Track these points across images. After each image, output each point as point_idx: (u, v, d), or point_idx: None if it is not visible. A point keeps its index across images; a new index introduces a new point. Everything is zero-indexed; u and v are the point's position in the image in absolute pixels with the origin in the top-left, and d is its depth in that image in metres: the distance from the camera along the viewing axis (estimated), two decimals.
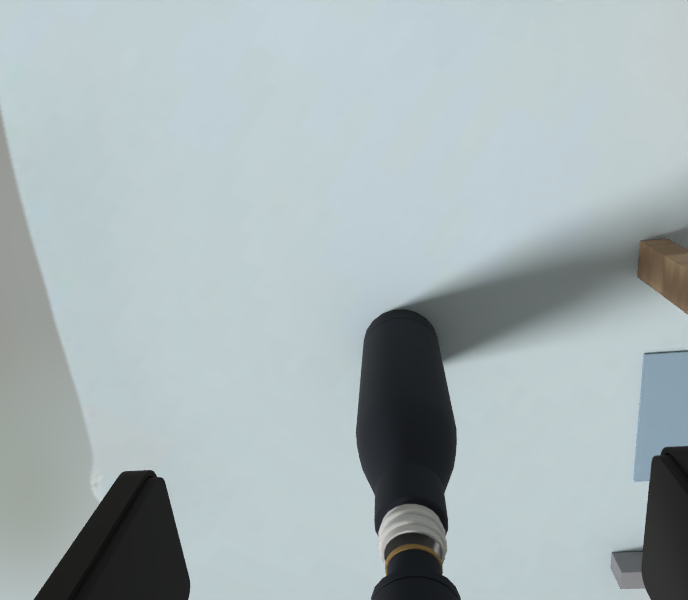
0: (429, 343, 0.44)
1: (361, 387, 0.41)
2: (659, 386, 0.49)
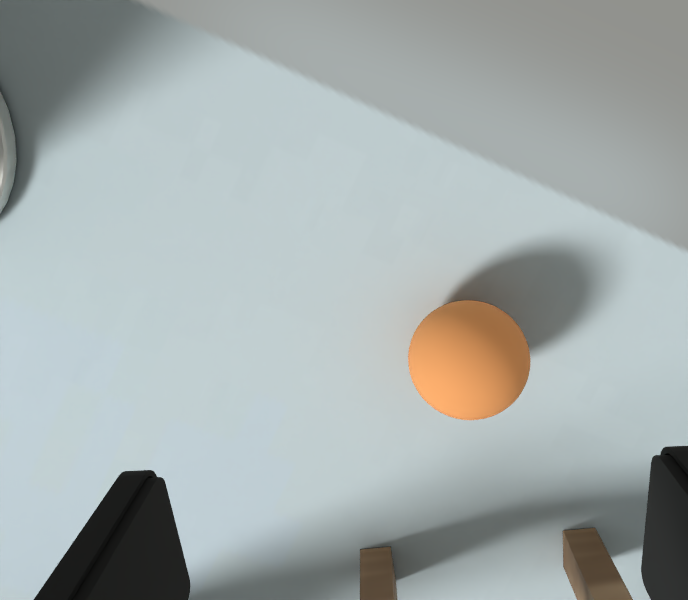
0: None
1: None
2: None
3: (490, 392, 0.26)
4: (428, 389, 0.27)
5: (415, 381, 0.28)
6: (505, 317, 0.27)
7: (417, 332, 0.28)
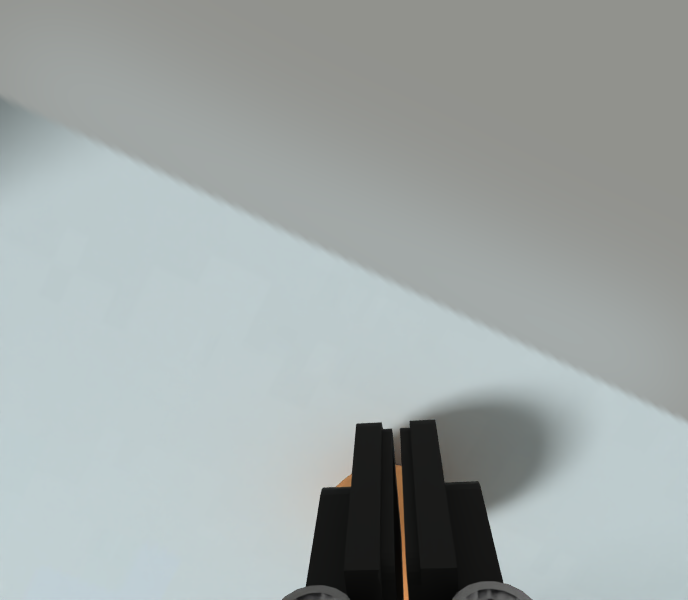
0: None
1: None
2: None
3: None
4: None
5: None
6: None
7: None
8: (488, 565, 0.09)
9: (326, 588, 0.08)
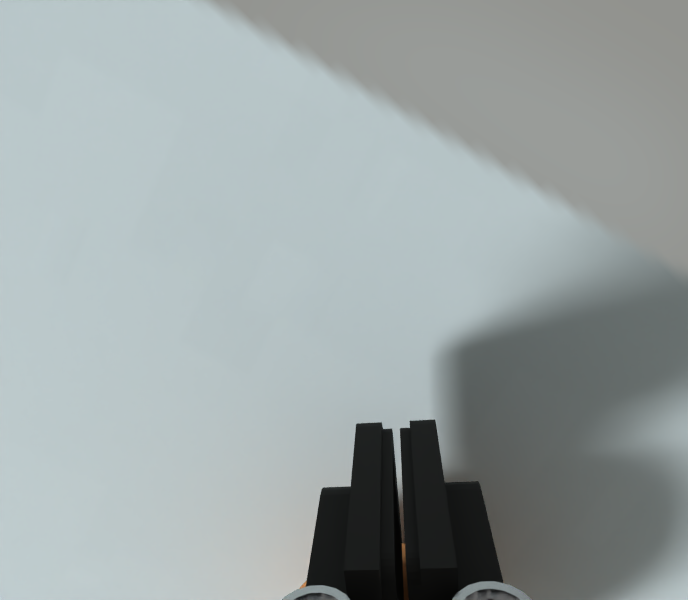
0: None
1: None
2: None
3: None
4: None
5: None
6: None
7: None
8: (487, 565, 0.09)
9: (326, 588, 0.08)
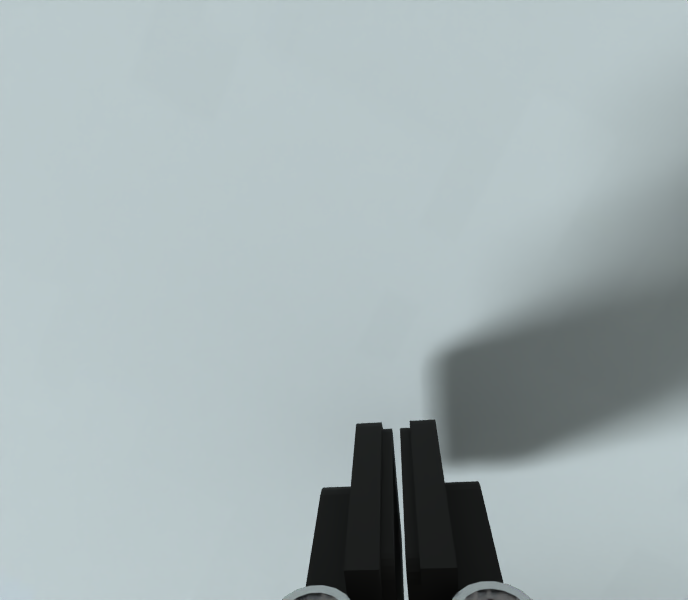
0: None
1: None
2: None
3: None
4: None
5: None
6: None
7: None
8: (488, 565, 0.09)
9: (326, 588, 0.08)
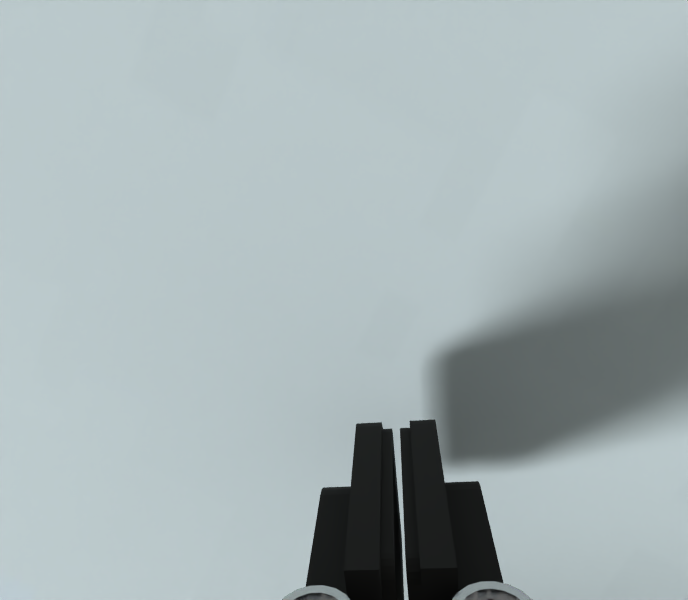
0: None
1: None
2: None
3: None
4: None
5: None
6: None
7: None
8: (488, 565, 0.09)
9: (326, 588, 0.08)
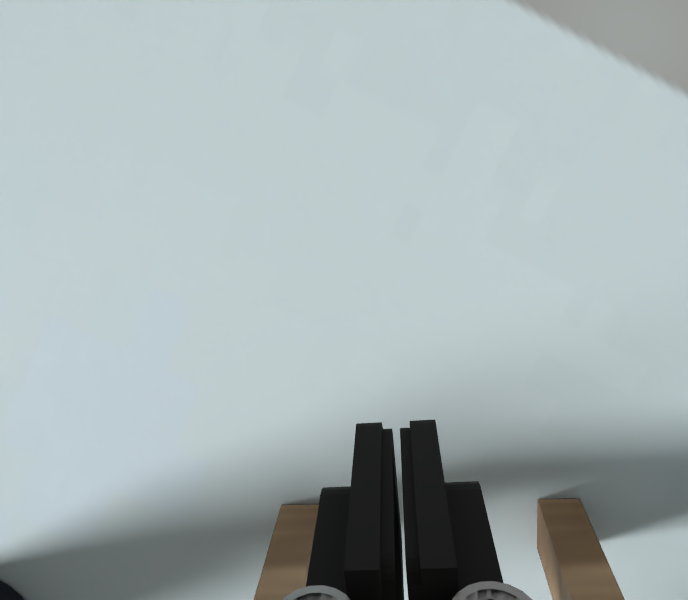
0: None
1: None
2: None
3: None
4: None
5: None
6: None
7: None
8: (487, 565, 0.09)
9: (326, 588, 0.08)
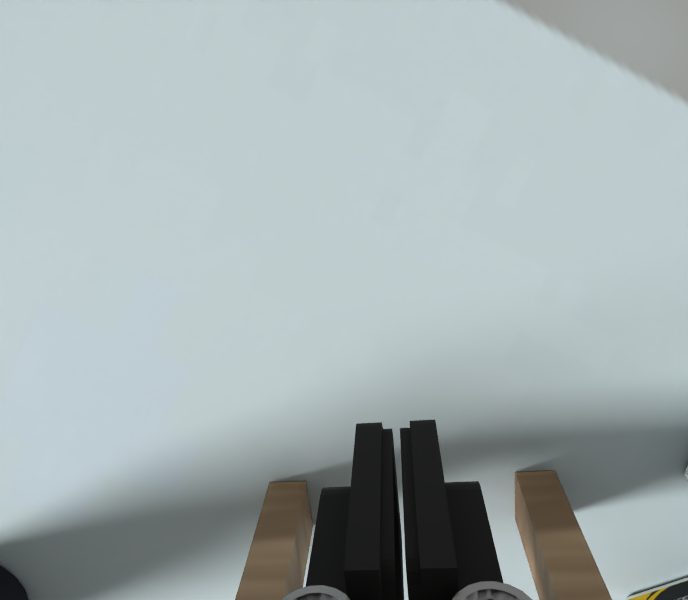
0: None
1: None
2: None
3: None
4: None
5: None
6: None
7: None
8: (487, 565, 0.09)
9: (326, 588, 0.08)
